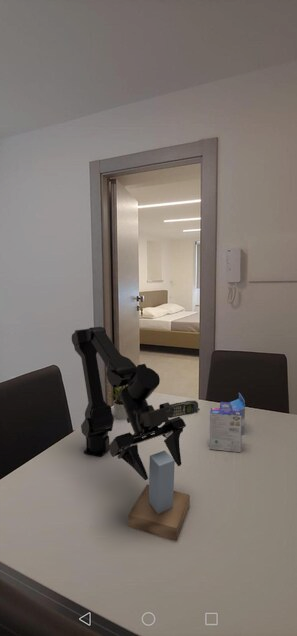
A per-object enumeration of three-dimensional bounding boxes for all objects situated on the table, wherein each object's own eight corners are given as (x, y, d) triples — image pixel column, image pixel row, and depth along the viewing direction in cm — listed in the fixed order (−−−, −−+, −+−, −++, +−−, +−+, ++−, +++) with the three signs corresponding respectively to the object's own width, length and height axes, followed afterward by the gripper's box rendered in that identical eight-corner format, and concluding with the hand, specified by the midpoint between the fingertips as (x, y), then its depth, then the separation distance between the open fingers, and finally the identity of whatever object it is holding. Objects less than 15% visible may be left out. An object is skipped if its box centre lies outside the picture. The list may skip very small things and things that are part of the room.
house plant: (148, 411, 131) (148, 373, 129) (136, 426, 118) (135, 384, 116) (116, 407, 136) (116, 370, 134) (101, 421, 123) (100, 380, 121)
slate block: (157, 514, 70) (159, 466, 68) (148, 502, 74) (149, 455, 71) (173, 507, 72) (174, 460, 70) (163, 495, 76) (164, 450, 73)
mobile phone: (169, 407, 124) (202, 400, 130) (165, 404, 127) (198, 397, 133) (169, 419, 125) (202, 411, 131) (165, 416, 128) (198, 409, 134)
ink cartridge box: (240, 444, 106) (241, 401, 104) (241, 453, 100) (243, 408, 98) (209, 441, 107) (210, 399, 106) (209, 449, 102) (210, 406, 100)
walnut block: (128, 528, 71) (128, 514, 70) (147, 497, 81) (146, 484, 81) (176, 543, 67) (176, 528, 66) (189, 508, 77) (189, 494, 77)
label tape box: (227, 423, 121) (228, 391, 119) (238, 423, 120) (239, 391, 119) (233, 434, 112) (233, 401, 110) (244, 434, 112) (245, 401, 110)
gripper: (113, 402, 69) (142, 476, 61) (181, 385, 79) (213, 446, 71) (99, 423, 76) (122, 491, 68) (162, 405, 86) (189, 463, 79)
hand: (163, 472), depth 71 cm, fingers open, 9 cm apart
